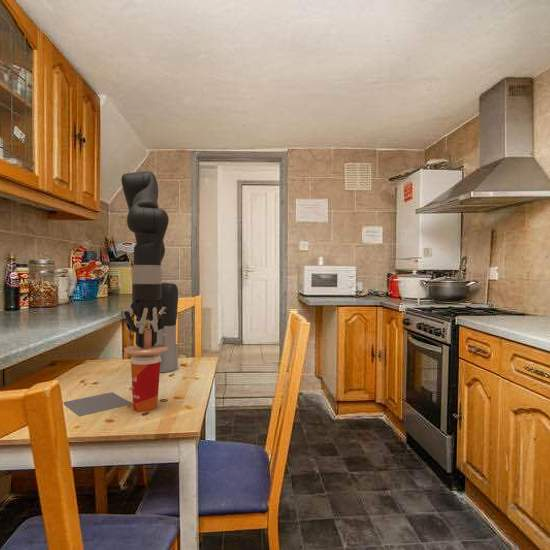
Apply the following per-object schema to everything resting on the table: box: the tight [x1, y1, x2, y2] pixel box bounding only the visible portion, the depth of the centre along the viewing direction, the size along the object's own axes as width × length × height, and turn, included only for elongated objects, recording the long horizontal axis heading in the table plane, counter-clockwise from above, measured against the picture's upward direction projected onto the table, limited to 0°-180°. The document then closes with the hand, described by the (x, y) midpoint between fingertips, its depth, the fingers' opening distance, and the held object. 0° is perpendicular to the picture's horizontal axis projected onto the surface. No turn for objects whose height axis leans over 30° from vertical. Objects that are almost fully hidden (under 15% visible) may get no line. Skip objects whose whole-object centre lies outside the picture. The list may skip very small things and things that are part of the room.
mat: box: [63, 391, 133, 417], centre depth 108 cm, size 14×14×1 cm
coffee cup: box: [129, 354, 162, 413], centre depth 105 cm, size 8×8×15 cm
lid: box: [123, 328, 167, 356], centre depth 105 cm, size 11×11×6 cm
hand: (146, 346), depth 105 cm, fingers closed on lid, 2 cm apart
